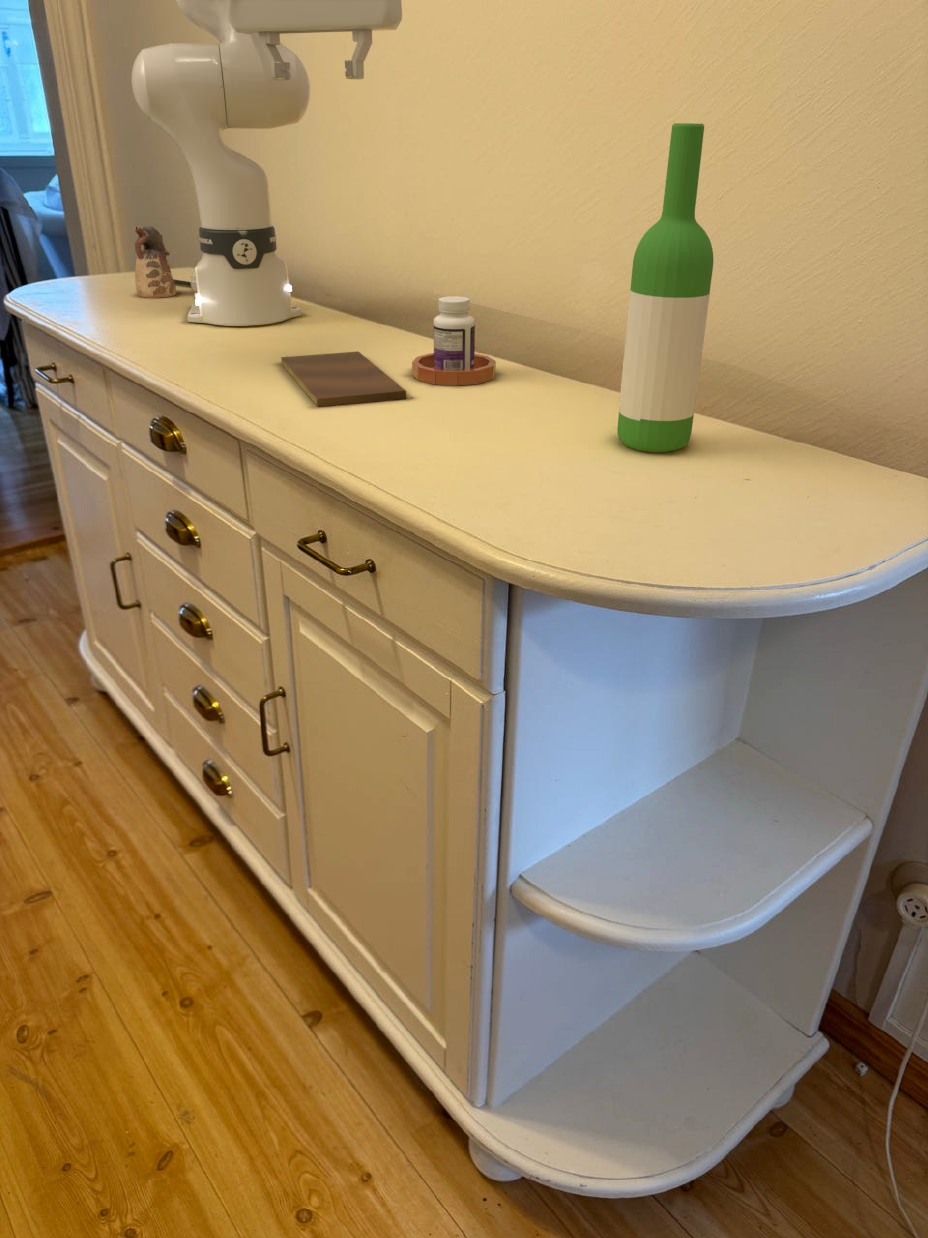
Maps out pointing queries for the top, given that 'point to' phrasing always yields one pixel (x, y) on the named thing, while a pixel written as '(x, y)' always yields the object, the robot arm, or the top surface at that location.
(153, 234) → the figurine
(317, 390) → the board
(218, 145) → the robot arm
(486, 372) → the ring
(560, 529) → the top surface
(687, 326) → the wine bottle
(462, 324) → the pill bottle
